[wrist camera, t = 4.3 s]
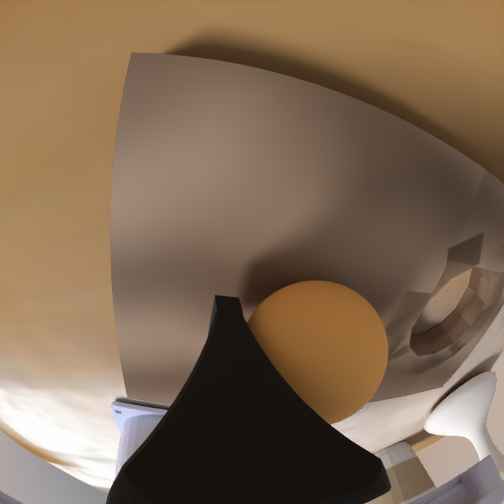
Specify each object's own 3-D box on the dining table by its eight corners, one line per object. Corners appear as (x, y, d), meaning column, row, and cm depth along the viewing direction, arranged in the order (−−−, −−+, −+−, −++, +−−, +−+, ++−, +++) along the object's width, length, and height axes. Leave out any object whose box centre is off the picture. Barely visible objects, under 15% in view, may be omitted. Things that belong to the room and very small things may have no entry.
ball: (323, 349, 13) (365, 435, 9) (219, 350, 11) (239, 458, 7) (366, 259, 11) (444, 346, 6) (243, 244, 9) (288, 368, 5)
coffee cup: (349, 472, 35) (369, 541, 22) (358, 454, 29) (385, 541, 16) (408, 449, 35) (433, 512, 22) (428, 424, 29) (462, 501, 16)
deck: (432, 370, 20) (442, 386, 18) (132, 371, 15) (127, 397, 13) (525, 206, 13) (543, 218, 11) (147, 61, 8) (131, 52, 6)
